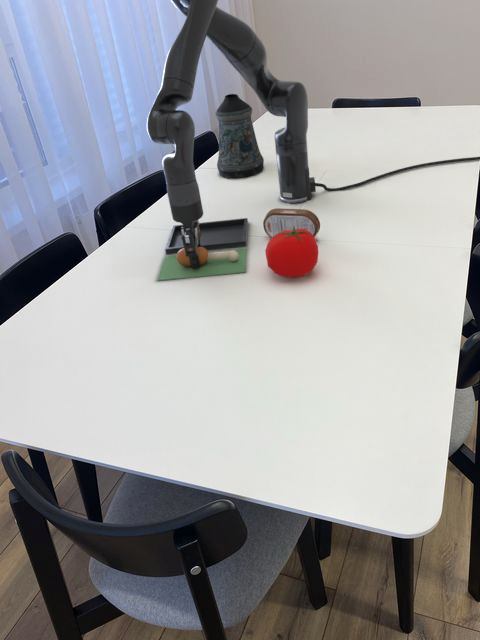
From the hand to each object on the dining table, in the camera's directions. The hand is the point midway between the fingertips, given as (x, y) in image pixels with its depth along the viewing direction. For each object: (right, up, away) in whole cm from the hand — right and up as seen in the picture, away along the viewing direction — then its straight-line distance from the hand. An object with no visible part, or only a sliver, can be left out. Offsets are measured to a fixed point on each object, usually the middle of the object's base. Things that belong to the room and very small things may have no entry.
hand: (197, 262), depth 147 cm
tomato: (+24, -4, -8) cm, 26 cm away
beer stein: (+8, +41, +58) cm, 72 cm away
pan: (+2, +8, +13) cm, 16 cm away
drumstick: (+3, 0, 0) cm, 3 cm away
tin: (+25, +7, +7) cm, 26 cm away
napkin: (+2, -1, 0) cm, 2 cm away
